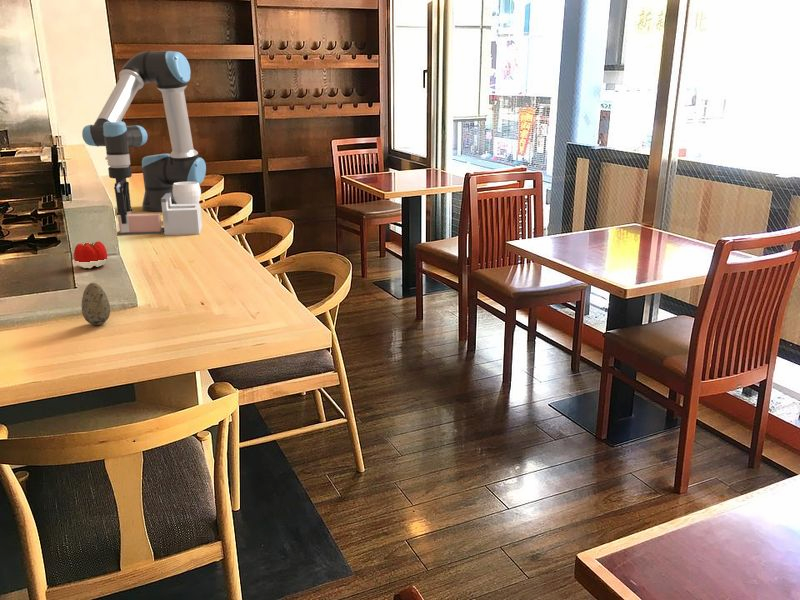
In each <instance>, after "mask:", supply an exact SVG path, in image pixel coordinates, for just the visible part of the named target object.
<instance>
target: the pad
mask: <svg viewBox="0 0 800 600" xmlns="http://www.w3.org/2000/svg"><path fill="white" fill-rule="evenodd" d="M161 227H162V230H161V231H159V232H130V233H120V230H119V231H118V232H117V233H118V235H117V236H127V235H154V234H165V232H164V226H161Z"/></svg>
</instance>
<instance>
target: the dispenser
mask: <svg viewBox="0 0 800 600" xmlns="http://www.w3.org/2000/svg"><path fill="white" fill-rule="evenodd" d="M161 204H162V211H161V212H162V222H163V227H164V236H181V235H182V236H183V235H184V236H185V235H186V236H187V235H200V233H201V231H202V228H203V220H202V209H201V208H202V207H201V203H198V204H172V203H171V193H166V194H165V195H164V196H163V197H162V198H161Z"/></svg>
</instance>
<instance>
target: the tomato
mask: <svg viewBox="0 0 800 600" xmlns="http://www.w3.org/2000/svg"><path fill="white" fill-rule="evenodd" d="M91 243H92V244H89V243H85V244H84V245H83V243H78V244H77V245H75V247H74V251H73V258H74V262H75V261H79V262H90V261H98V260H104V259H107V260H108V252H107V249H106V246H105V244H104V243H102V242H101V241H95V242H91ZM93 244H94V245H93Z"/></svg>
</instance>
